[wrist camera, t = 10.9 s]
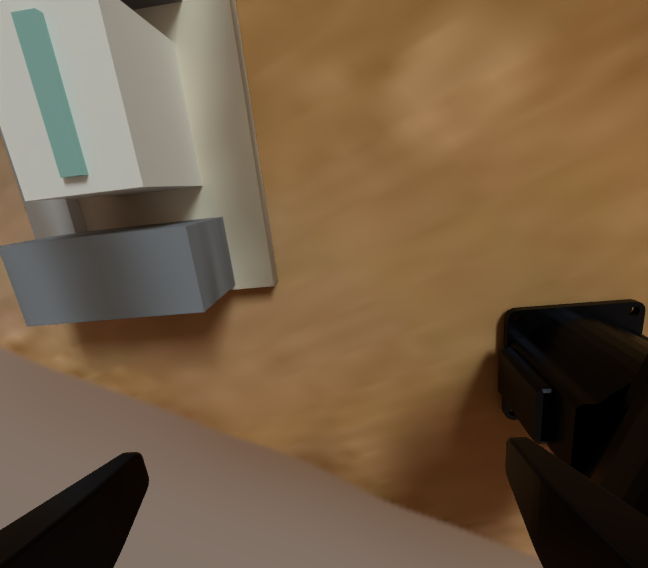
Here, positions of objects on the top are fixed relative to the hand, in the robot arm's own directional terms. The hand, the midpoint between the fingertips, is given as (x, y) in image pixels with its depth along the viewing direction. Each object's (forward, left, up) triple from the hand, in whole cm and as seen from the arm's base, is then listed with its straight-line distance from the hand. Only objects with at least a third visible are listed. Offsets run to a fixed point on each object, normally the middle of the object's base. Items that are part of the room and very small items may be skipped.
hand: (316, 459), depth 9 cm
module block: (+8, -10, -10) cm, 16 cm away
